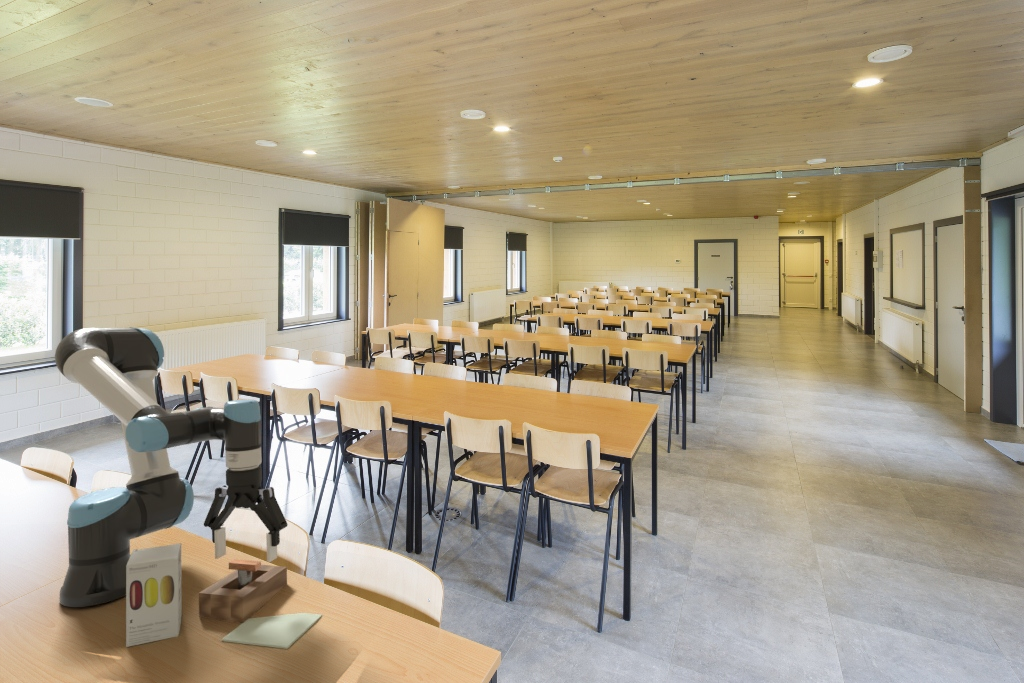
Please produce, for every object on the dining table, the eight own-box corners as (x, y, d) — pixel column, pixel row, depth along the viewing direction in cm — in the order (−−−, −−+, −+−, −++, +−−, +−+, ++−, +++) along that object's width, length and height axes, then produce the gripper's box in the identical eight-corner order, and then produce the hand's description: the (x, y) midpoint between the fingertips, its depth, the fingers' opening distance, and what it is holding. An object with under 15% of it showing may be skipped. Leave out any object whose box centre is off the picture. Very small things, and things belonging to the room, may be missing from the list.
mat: (221, 641, 114) (221, 639, 114) (262, 610, 127) (262, 608, 127) (287, 648, 111) (287, 646, 111) (322, 616, 124) (322, 614, 124)
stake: (226, 607, 128) (225, 564, 128) (238, 599, 132) (237, 557, 132) (253, 610, 127) (252, 566, 127) (264, 602, 131) (263, 559, 131)
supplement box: (124, 648, 112) (123, 565, 111) (131, 627, 120) (130, 549, 120) (180, 636, 116) (179, 556, 116) (182, 616, 124) (181, 541, 124)
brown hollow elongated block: (199, 619, 123) (198, 592, 123) (247, 587, 138) (247, 563, 138) (242, 624, 120) (242, 597, 120) (287, 591, 136) (286, 566, 136)
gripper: (185, 469, 128) (187, 561, 128) (282, 472, 123) (284, 567, 123) (209, 462, 135) (211, 549, 135) (301, 464, 130) (303, 554, 130)
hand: (246, 558), depth 129 cm, fingers open, 13 cm apart
